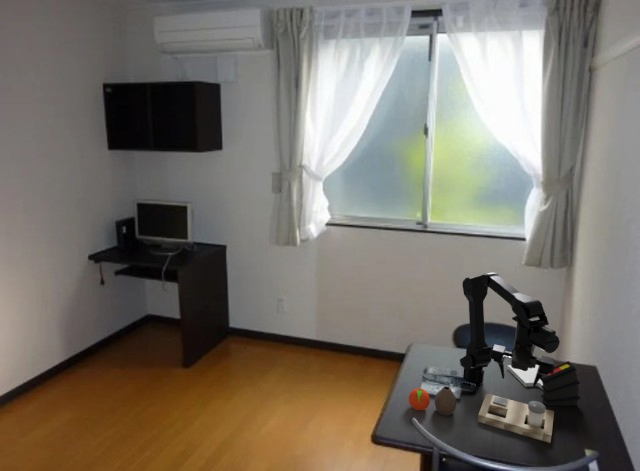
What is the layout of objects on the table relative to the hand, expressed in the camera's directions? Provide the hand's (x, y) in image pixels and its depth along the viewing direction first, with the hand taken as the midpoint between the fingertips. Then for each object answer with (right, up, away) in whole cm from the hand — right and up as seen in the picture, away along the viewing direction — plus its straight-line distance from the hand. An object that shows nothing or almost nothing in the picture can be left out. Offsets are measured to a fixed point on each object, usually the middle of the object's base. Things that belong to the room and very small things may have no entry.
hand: (518, 382), depth 154 cm
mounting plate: (+16, -6, +26) cm, 31 cm away
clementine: (-31, -11, +4) cm, 33 cm away
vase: (-23, -11, +3) cm, 26 cm away
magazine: (+17, -10, +9) cm, 21 cm away
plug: (+3, -13, -5) cm, 14 cm away
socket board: (-1, -12, -1) cm, 12 cm away
